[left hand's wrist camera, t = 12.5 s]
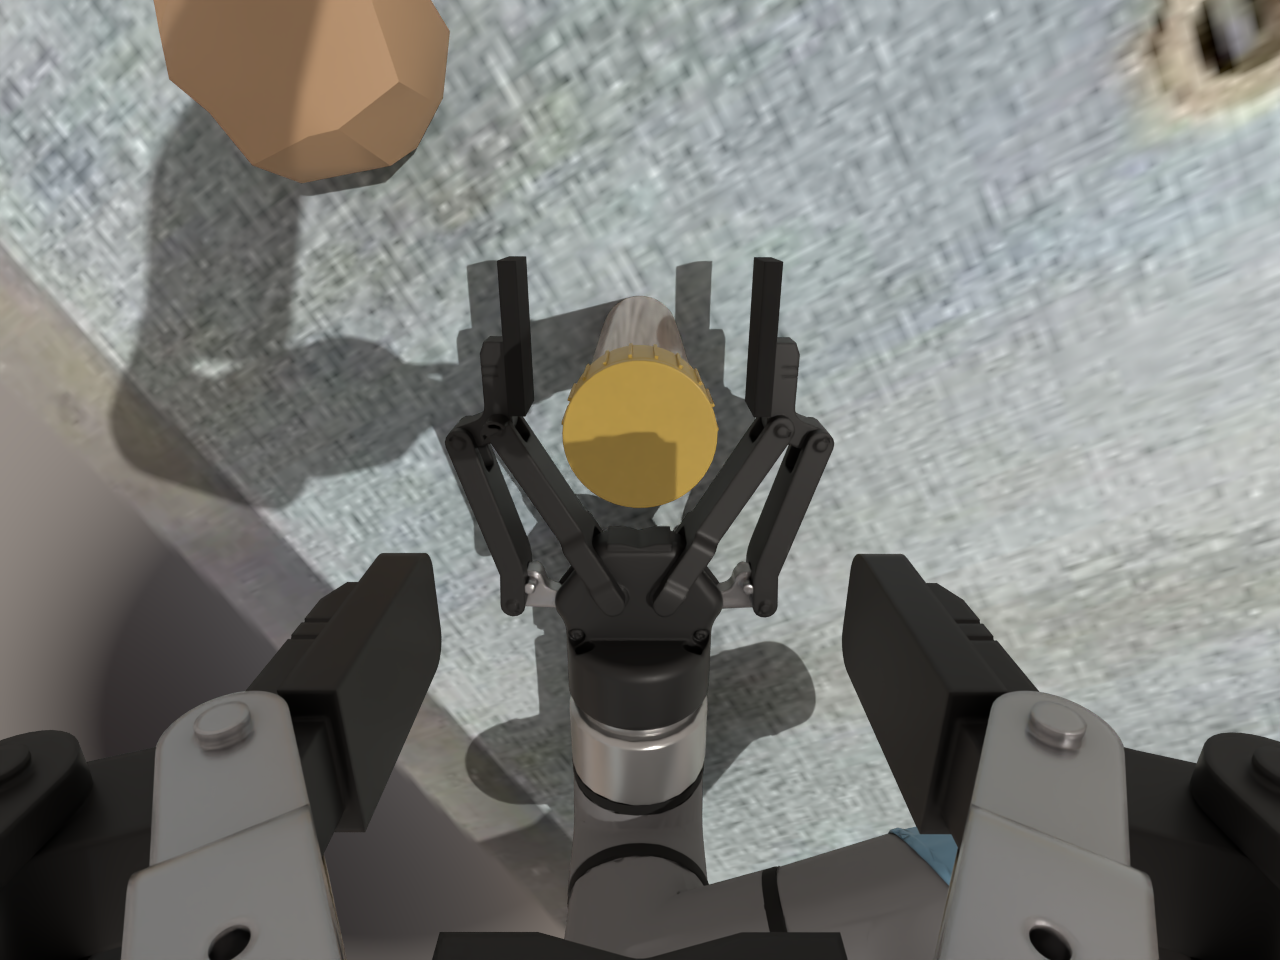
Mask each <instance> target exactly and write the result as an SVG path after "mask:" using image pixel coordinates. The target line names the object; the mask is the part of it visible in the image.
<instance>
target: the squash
mask: <svg viewBox="0 0 1280 960" xmlns="http://www.w3.org/2000/svg"><path fill="white" fill-rule="evenodd" d="M154 5H155V10H156V16H157V21H158V27H159V32H160V37H161V42H162V46H163V51H164V56H165V61H166V66H167V71H168V75H169V79H170V80H171V81H172V82H173V83H174V84H176V85H177V86H178V87H179V88H180V89H182V90H183V91H184V92H185V93H186V94H188V95H189V96H190V97H191V98H192V99H194V100H195V101H196V102H197V103H198V104H200V105H201V106H202V107H203V108H204V109H206V110H207V111H208V112H209V113H210V114H211V115H212V116H213V118H214V119H215V120H216V121H217V123H218V124H219V125H220V126H221V128H222V129H223V130H224V131H225V132H226V134H227V135H228V136H229V137H230V139H231V140H232V141H233V142H234V143H235V145H236V146H237V147H238V148H239V150H240V151H241V152H242V153H243V154H244V156H245V157H246V158H247V159H248V161H249V162H250V163H251V164H252V165H253V166H256V167H258V168H261V169H264V170H267V171H269V172H272V173H275V174H278V175H280V176H283V177H286V178H289V179H291V180H294V181H297V182H300V183H306V182H311V181H316V180H321V179H326V178H331V177H336V176H341V175H346V174H351V173H357V172H362V171H367V170H372V169H377V168H382V167H387V166H391V165H393V164H394V163H395V162H397V161H398V160H400V159H401V158H403V157H404V156H406V155H407V154H409V153H410V152H411V151H413V150H414V149H416V148H417V147H418V145H419V143H420V141H421V139H422V137H423V135H424V133H425V131H426V129H427V127H428V125H429V124H430V122H431V120H432V118H433V116H434V114H435V112H436V110H437V108H438V106H439V104H440V102H441V100H442V99H443V92H444V82H445V72H446V63H447V53H448V44H449V34H450V31H449V29H448V28H447V26H446V24H445V23H444V21H443V19H442V18H441V16H440V15H439V13H438V11H437V10H436V8H435V6H434V5H433V3H432V1H431V0H154Z"/></svg>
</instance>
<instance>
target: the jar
mask: <svg viewBox="0 0 1280 960" xmlns="http://www.w3.org/2000/svg"><path fill="white" fill-rule="evenodd" d="M629 343H632V344H633V345H648V346H654V344H656V345H657V347H659V348H663V349H665V350H668V351H670V352H672V353H674V354H676V353H679V354H680V357H681V358H682V359H683V360H685V361H686V362H687V363H688V364H689V362H688V359H687V356H686V353H685V350H684V347H683V343H682V340H681V337H680V334H679V331H678V328H677V324H676V321H675V319H674V317H673V315H672V313H671V312H670V310H669V309H668V308H667V307H666V306H665V305H664V304H662V303H661V302H659V301H658V300H656V299H653V298H650V297H646V296H634V297H630V298H627V299H624V300H622V301H621V302H619V303H618V304H616V305H615V306H614V307H613V308H612V309H611V310H610V312H609V313H608V315H607V317H606V319H605V321H604V324H603V328H602V331H601V334H600V337H599V340H598V343H597V346H596V350H595V353H594V356H593V359H592V362H591V364H592V363H593V362H594V361H595V360H597V359H598V358H599V357H601V356H603V355H604V354H605V351H607V350H609V352H610V351H612V350H615V349H618V348H621V347H625V346H629Z"/></svg>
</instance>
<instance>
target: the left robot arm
mask: <svg viewBox="0 0 1280 960" xmlns="http://www.w3.org/2000/svg"><path fill="white" fill-rule="evenodd" d="M291 636H292V637H291V639H288V640H287V641H286V642H285V643H284V645H283V646H282V647H281V648H280V649H279V651H278V652H277V653H276V654H275V656H274V657H273V658H272V659H271V661H270V662H269V663H268V664H267V665H266V667H265V668H264V669H263V670H262V671H261V673H260V674H259V675H258V676H257V678H256V679H255V680H254V681H253V683H252V684H251V685H250V686H249V687H248V689H247V690H246V691H244V692H238V693H233V694H229V695H225V696H221V697H218V698H216V699H213V700H210V701H208V702H206V703H204V704H201V705H199V706H197V707H196V708H194V709H192V710H190V711H189V712H187V713H186V714H184V715H183V716H181V717H180V718H179V719H177V720H176V721H175V722H174V723H173V724H171V725H170V727H169V728H168V729H167V730H166V731H165V732H164V733H163V735H162V736H161V737H160V739H159V741H158V744H157V746H156V747H154V748H149V749H145V750H140V751H136V752H131V753H126V754H121V755H117V756H112V757H108V758H103V759H98V760H94V761H89V762H86V760H85V757H84V755H83V752H82V750H81V747H80V745H79V742H78V740H77V739H76V738H75V737H74V736H73V735H71V734H70V733H67V732H63V731H55V730H45V731H36V732H29V733H25V734H20V735H16V736H13V737H10V738H6V739H3V740H1V741H0V960H347V957H346V953H345V948H344V944H343V939H342V935H341V930H340V925H339V921H338V916H337V912H336V907H335V902H334V898H333V893H332V889H331V884H330V879H329V875H328V870H327V866H326V862H325V858H324V852H325V850H326V848H327V846H328V844H329V841H330V839H331V837H332V835H333V833H334V832H365V831H366V829H367V827H368V824H369V822H370V820H371V818H372V815H373V813H374V811H375V809H376V806H377V804H378V802H379V800H380V797H381V795H382V793H383V790H384V788H385V786H386V784H387V781H388V779H389V777H390V775H391V772H392V770H393V768H394V766H395V763H396V761H397V759H398V756H399V754H400V752H401V750H402V747H403V745H404V743H405V741H406V738H407V736H408V734H409V732H410V729H411V727H412V725H413V722H414V720H415V718H416V716H417V713H418V711H419V709H420V707H421V704H422V702H423V700H424V698H425V695H426V693H427V691H428V688H429V686H430V684H431V682H432V679H433V677H434V675H435V673H436V670H437V667H438V664H439V660H440V653H441V627H440V620H439V612H438V604H437V596H436V589H435V581H434V573H433V566H432V562H431V559H430V557H429V555H428V554H427V553H381V554H380V555H379V556H378V557H377V558H376V559H375V561H374V562H373V563H372V565H371V566H370V567H369V569H368V570H367V571H366V572H365V574H364V575H363V576H362V578H361V579H360V580H359V582H347V583H345V584H343V585H342V586H340V587H339V588H337V589H336V590H334V591H332V592H331V593H329V594H328V595H326V596H325V597H323V598H322V599H320V601H319V602H318V603H317V604H316V605H315V607H314V608H313V609H312V610H311V612H310V613H309V614H308V615H307V616H306V618H305V622H302V623H301V624H300V625H299V626H298V627H297V629H296V630H295V631H294V632H293V634H292V635H291ZM842 651H843V658H844V663H845V667H846V670H847V673H848V675H849V677H850V679H851V682H852V684H853V686H854V688H855V690H856V693H857V695H858V697H859V699H860V702H861V704H862V706H863V708H864V711H865V713H866V715H867V717H868V720H869V722H870V724H871V726H872V728H873V731H874V733H875V735H876V737H877V740H878V742H879V744H880V746H881V749H882V751H883V753H884V755H885V757H886V760H887V762H888V764H889V766H890V769H891V771H892V773H893V775H894V778H895V780H896V782H897V784H898V787H899V789H900V791H901V793H902V795H903V798H904V800H905V802H906V804H907V807H908V809H909V811H910V813H911V816H912V818H913V820H914V822H915V824H916V827H917V829H918V831H919V833H920V834H951V835H952V837H953V839H954V841H955V843H956V845H957V847H958V849H957V853H956V857H955V862H954V866H953V870H952V875H951V879H950V884H949V889H948V893H947V898H946V902H945V907H944V912H943V916H942V921H941V925H940V930H939V934H938V939H937V944H936V948H935V953H934V957H933V960H1280V742H1279V741H1275V740H1272V739H1269V738H1265V737H1261V736H1257V735H1252V734H1245V733H1221V734H1217V735H1214V736H1212V737H1210V738H1209V739H1208V740H1207V741H1206V742H1205V744H1204V746H1203V749H1202V751H1201V754H1200V756H1199V759H1198V761H1197V763H1192V762H1188V761H1183V760H1178V759H1174V758H1169V757H1165V756H1160V755H1155V754H1151V753H1146V752H1141V751H1137V750H1133V749H1129V748H1125V747H1124V746H1123V743H1122V741H1121V739H1120V737H1119V736H1118V735H1117V733H1116V732H1115V731H1114V730H1113V729H1112V728H1111V726H1110V725H1109V724H1108V723H1106V722H1105V721H1104V720H1103V719H1101V718H1100V717H1099V716H1097V715H1096V714H1094V713H1093V712H1091V711H1090V710H1088V709H1086V708H1084V707H1083V706H1081V705H1079V704H1077V703H1074V702H1072V701H1070V700H1067V699H1064V698H1062V697H1059V696H1055V695H1051V694H1048V693H1042V692H1039V691H1038V690H1037V688H1036V687H1035V686H1034V685H1033V684H1032V682H1031V681H1030V680H1029V679H1028V678H1027V676H1026V675H1025V674H1024V673H1023V671H1022V670H1021V669H1020V668H1019V667H1018V665H1017V664H1016V663H1015V662H1014V661H1013V659H1012V658H1011V657H1010V656H1009V655H1008V653H1007V652H1006V651H1005V650H1004V648H1003V647H1002V646H1001V645H1000V644H999V642H998V641H994V639H993V635H992V634H991V633H990V632H989V630H988V629H987V628H986V627H985V626H984V624H980V619H979V618H978V617H977V616H976V615H975V613H974V612H973V611H972V610H971V609H970V607H969V606H968V605H967V604H966V603H965V601H964V600H963V599H961V598H959V597H958V596H956V595H955V594H953V593H952V592H950V591H948V590H947V589H945V588H944V587H942V586H941V585H939V584H937V583H926V582H925V581H924V580H923V579H922V577H921V576H920V575H919V573H918V572H917V571H916V569H915V568H914V567H913V565H912V564H911V563H910V562H909V560H908V559H907V558H906V557H905V556H904V555H903V554H857V555H856V556H855V557H854V559H853V561H852V565H851V571H850V578H849V586H848V594H847V601H846V609H845V616H844V624H843V632H842ZM432 960H848V959H847V955H846V951H845V948H844V944H843V941H842V937H841V933H840V932H741V933H737V934H733V935H730V936H726V937H722V938H719V939H715V940H712V941H708V942H704V943H701V944H697V945H693V946H690V947H686V948H683V949H679V950H675V951H672V952H668V953H664V954H661V955H657V956H654V957H649V958H644V959H636V958H631V957H626V956H623V955H619V954H616V953H612V952H608V951H605V950H601V949H597V948H594V947H590V946H587V945H583V944H579V943H576V942H572V941H568V940H565V939H561V938H558V937H554V936H550V935H546V934H543V933H539V932H440V934H439V937H438V941H437V944H436V948H435V951H434V955H433V959H432Z"/></svg>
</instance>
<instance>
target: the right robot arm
mask: <svg viewBox="0 0 1280 960" xmlns="http://www.w3.org/2000/svg"><path fill="white" fill-rule="evenodd" d="M497 267H498V281H499V295H500V309H501V323H502V336H490V337H489V338H488V339H486V340H485V341H484V342H483V346H482V349H481V352H480V359H481V371H482V383H483V395H484V411H483V412H482V413H479V414H476V415H473V416H465V417H463V418H462V419H461V420H460V421H459V422H458V423H457V425H456V426H455V427H454V428H453V429H452V430H451V432H450V433H449V434H448V436H447V437H446V440H445V445H446V448H447V451H448V453H449V456H450V458H451V460H452V463H453V465H454V467H455V470H456V472H457V475H458V477H459V479H460V482H461V484H462V486H463V489H464V491H465V493H466V496H467V498H468V501H469V503H470V505H471V508H472V510H473V512H474V515H475V517H476V519H477V522H478V524H479V527H480V529H481V531H482V534H483V536H484V538H485V541H486V543H487V545H488V548H489V550H490V553H491V555H492V557H493V560H494V562H495V564H496V567H497V569H498V572H499V574H500V593H501V609H502V610H503V612H504V613H506V614H507V615H510V616H518V615H520V614H522V612H523V611H524V609H525V606H535V607H554V608H556V609H557V611H558V613H559V614H560V616H561V617H562V619H563V620H564V623H565V625H566V630H567V652H568V675H569V690H570V693H571V698H570V721H571V739H572V755H573V759H572V760H573V770H574V835H573V845H572V855H571V864H570V874H569V884H568V916H567V923H566V931H565V938H564V939H565V940H568V941H572V942H576V943H579V944H583V945H587V946H590V947H594V948H597V949H601V950H605V951H608V952H612V953H616V954H619V955H623V956H626V957H631V958H636V959H644V958H649V957H654V956H657V955H661V954H664V953H668V952H672V951H675V950H679V949H683V948H686V947H690V946H693V945H697V944H701V943H704V942H708V941H712V940H715V939H719V938H722V937H726V936H730V935H733V934H737V933H741V932H840V933H841V937H842V941H843V944H844V948H845V951H846V955H847V959H848V960H933V957H934V953H935V948H936V944H937V939H938V934H939V930H940V925H941V921H942V916H943V912H944V907H945V902H946V898H947V893H948V889H949V884H950V879H951V875H952V870H953V866H954V862H955V857H956V853H957V849H958V847H957V845H956V843H955V841H954V839H953V837H952V835H951V834H920V833H919V831H918V829H917V827H913V828H908V829H901V828H895V829H892V830H890V831H889V833H888V834H885V835H882V836H879V837H876V838H872V839H869V840H866V841H862V842H859V843H856V844H853V845H849V846H846V847H843V848H840V849H836V850H833V851H830V852H827V853H823V854H820V855H817V856H813V857H810V858H807V859H804V860H800V861H797V862H794V863H791V864H787V865H784V866H781V867H780V866H778V867H772V868H769V869H765V870H761V871H757V872H754V873H750V874H746V875H743V876H739V877H735V878H732V879H728V880H725V881H721V882H717V883H714V884H710V885H709V884H708V881H707V872H706V862H705V852H704V842H703V828H702V795H703V769H704V758H705V750H706V727H707V696H706V695H707V692H708V686H709V666H710V646H711V629H712V625H713V623H714V621H715V619H716V617H717V616H718V615H719V613H720V612H721V610H722V609H723V608H744V607H753V610H754V612H755V614H756V615H758V616H760V617H769V616H771V615H773V614H774V613H775V612H776V610H777V601H778V576H779V573H780V571H781V569H782V566H783V564H784V562H785V559H786V557H787V555H788V553H789V550H790V548H791V546H792V543H793V541H794V539H795V536H796V534H797V532H798V529H799V527H800V525H801V522H802V520H803V518H804V515H805V513H806V511H807V508H808V506H809V504H810V501H811V499H812V497H813V494H814V492H815V490H816V487H817V485H818V483H819V480H820V478H821V476H822V473H823V471H824V469H825V467H826V464H827V462H828V460H829V457H830V455H831V453H832V450H833V447H834V440H833V438H832V437H831V435H830V434H829V433H828V432H827V431H826V429H825V428H824V427H823V426H822V425H821V424H820V422H819V421H818V420H817V419H815V418H813V417H805V416H802V415H799V414H797V413H796V412H795V401H796V390H797V379H798V378H797V376H798V367H799V357H800V354H799V351H798V348H797V344H796V343H795V342H794V341H793V340H792V339H791V338H790V337H777V334H778V321H779V309H780V296H781V283H782V270H783V262H782V261H780V260H777V259H774V258H771V257H754V266H753V282H752V298H751V314H750V330H749V346H748V362H747V378H746V394H745V402H746V404H747V405H748V407H749V409H750V411H751V413H752V415H753V416H754V417H756V419H755V420H754V421H753V423H752V424H751V426H750V427H749V429H748V430H747V432H746V433H745V435H744V436H743V438H742V439H741V441H740V442H739V444H738V445H737V447H736V448H735V450H734V451H733V452H732V454H731V455H730V457H729V458H728V460H727V461H726V463H725V464H724V466H723V467H722V469H721V470H720V472H719V473H718V475H717V476H716V478H715V479H714V480H713V482H712V483H711V485H710V486H709V488H708V489H707V491H706V492H705V494H704V495H703V497H702V498H701V500H700V501H699V503H698V504H697V506H696V507H695V508H694V510H693V511H691V512H689V513H688V514H687V515H686V517H685V518H684V520H683V521H682V523H681V524H680V526H679V527H678V529H677V530H676V531H675V532H674V531H670V526H654V527H650V528H646V529H642V530H637V529H633V528H628V527H624V526H609V528H608V531H604V532H603V531H602V529H601V528H600V526H599V525H598V523H597V522H596V520H595V519H594V517H593V516H592V514H591V513H590V512H589V511H586V510H585V509H584V507H583V506H582V504H581V503H580V501H579V500H578V498H577V497H576V495H575V494H574V492H573V491H572V489H571V488H570V486H569V485H568V483H567V482H566V480H565V479H564V477H563V476H562V474H561V473H560V471H559V470H558V468H557V467H556V465H555V464H554V462H553V461H552V459H551V458H550V456H549V455H548V453H547V452H546V450H545V449H544V447H543V446H542V444H541V443H540V441H539V440H538V438H537V437H536V435H535V434H534V432H533V431H532V429H531V428H530V426H529V425H528V423H527V422H526V420H525V419H524V418H523V416H526V414H527V412H528V411H529V409H530V407H531V405H532V403H533V401H534V388H533V370H532V353H531V335H530V317H529V299H528V281H527V263H526V257H524V256H509V257H506V258H503V259H501V260H498V261H497ZM490 443H491V444H492V446H493V447H494V448H495V450H496V451H497V453H498V454H499V456H500V457H501V458H502V460H503V461H504V463H505V464H506V466H507V467H508V468H509V470H510V471H511V473H512V474H513V476H514V477H515V478H516V480H517V481H518V483H519V484H520V486H521V487H522V489H523V490H524V491H525V493H526V494H527V496H528V497H529V499H530V500H531V501H532V503H533V504H534V506H535V507H536V509H537V510H538V511H539V513H540V514H541V516H542V517H543V519H544V520H545V521H546V523H547V524H548V526H549V527H550V529H551V530H552V532H553V533H554V534H555V536H556V537H557V539H558V540H559V542H560V544H561V547H562V551H563V553H564V555H565V557H566V558H567V560H568V561H569V562H570V564H571V565H572V566H571V567H570V568H569V569H568V571H567V572H566V573H565V574H564V576H563V577H562V578H561V580H560V581H559V582H556V581H553V580H551V579H550V578H548V576H547V574H546V571H545V568H544V567H543V566H542V565H541V563H540V562H539V561H533V562H532V552H531V547H530V544H529V541H528V538H527V535H526V533H525V530H524V528H523V525H522V523H521V520H520V518H519V515H518V513H517V510H516V507H515V505H514V502H513V500H512V497H511V495H510V492H509V490H508V487H507V485H506V482H505V480H504V477H503V475H502V472H501V470H500V467H499V465H498V462H497V460H496V457H495V454H494V452H493V449H492V447H491V444H490ZM787 445H789V446H788V448H787V451H786V453H785V456H784V458H783V461H782V463H781V466H780V468H779V471H778V473H777V476H776V478H775V480H774V483H773V485H772V488H771V490H770V493H769V495H768V498H767V500H766V503H765V505H764V508H763V510H762V513H761V515H760V518H759V520H758V523H757V525H756V528H755V530H754V532H753V535H752V537H751V540H750V543H749V546H748V550H747V556H746V562H739V563H738V564H737V566H736V567H735V568H734V570H733V573H732V576H731V577H730V579H728V580H727V581H725V582H721V583H719V582H718V580H717V579H716V577H715V576H714V575H713V573H712V572H711V571H710V570H709V568H708V567H707V565H708V563H709V562H710V560H711V559H712V558H713V556H714V554H715V552H716V549H717V545H718V543H719V541H720V540H721V538H722V537H723V536H724V534H725V533H726V531H727V530H728V529H729V527H730V526H731V524H732V523H733V521H734V520H735V519H736V517H737V516H738V514H739V513H740V512H741V510H742V509H743V507H744V506H745V505H746V503H747V502H748V500H749V499H750V497H751V496H752V495H753V493H754V492H755V490H756V489H757V488H758V486H759V485H760V483H761V482H762V480H763V479H764V478H765V476H766V475H767V473H768V472H769V471H770V469H771V468H772V466H773V465H774V463H775V462H776V461H777V459H778V458H779V456H780V455H781V454H782V452H783V451H784V449H785V448H786V447H787Z"/></svg>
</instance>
